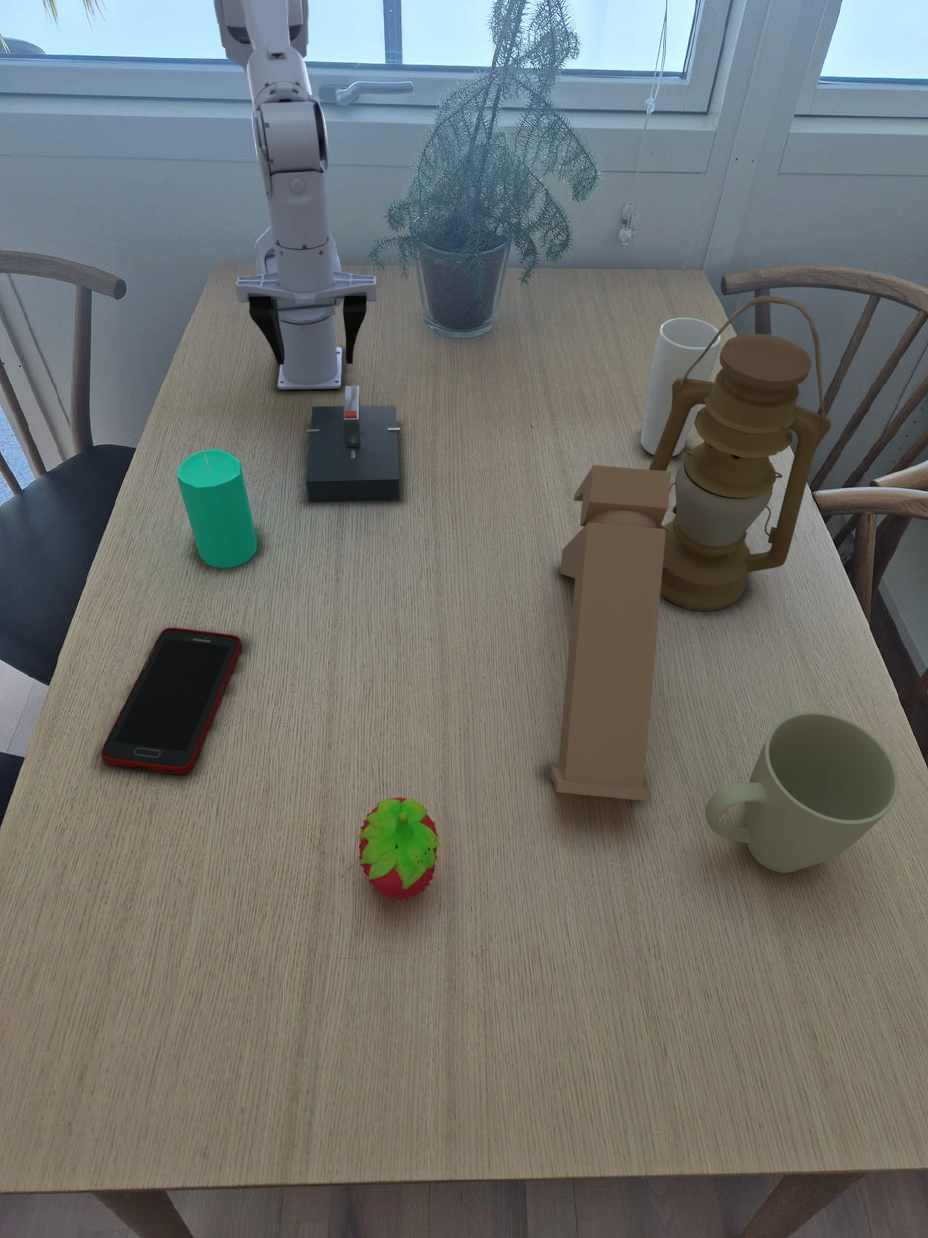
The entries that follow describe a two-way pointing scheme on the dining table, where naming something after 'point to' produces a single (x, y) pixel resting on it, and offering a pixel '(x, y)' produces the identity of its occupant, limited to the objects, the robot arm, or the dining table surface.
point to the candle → (218, 507)
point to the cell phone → (173, 701)
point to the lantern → (736, 463)
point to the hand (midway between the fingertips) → (315, 359)
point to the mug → (809, 792)
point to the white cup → (676, 374)
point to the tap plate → (353, 456)
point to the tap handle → (352, 416)
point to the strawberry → (398, 848)
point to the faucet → (612, 632)
